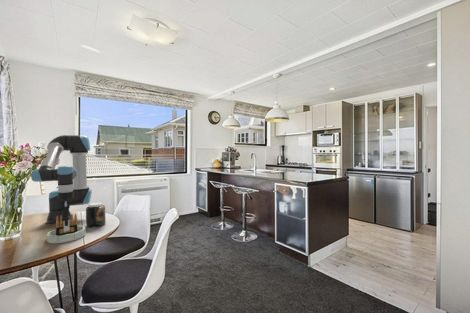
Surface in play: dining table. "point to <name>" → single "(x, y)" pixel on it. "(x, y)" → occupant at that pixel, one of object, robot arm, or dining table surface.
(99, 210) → the jar
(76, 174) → the robot arm
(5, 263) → the dining table surface
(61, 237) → the octagonal tray
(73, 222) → the ammunition clip
